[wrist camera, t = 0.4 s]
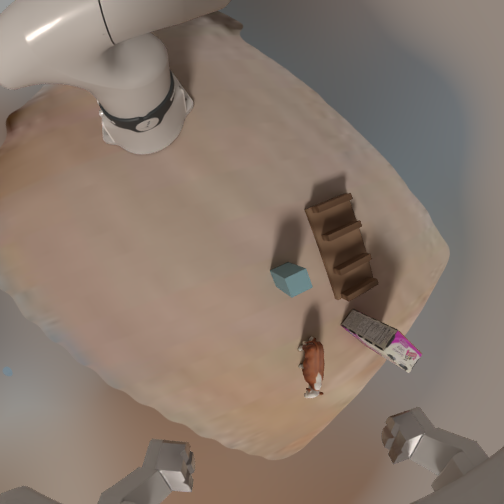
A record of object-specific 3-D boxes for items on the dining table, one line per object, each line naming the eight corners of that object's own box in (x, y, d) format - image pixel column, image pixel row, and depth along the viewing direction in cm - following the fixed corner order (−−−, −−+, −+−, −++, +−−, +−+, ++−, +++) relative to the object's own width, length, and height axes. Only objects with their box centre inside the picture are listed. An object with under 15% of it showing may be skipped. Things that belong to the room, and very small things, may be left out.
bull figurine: (292, 385, 56) (305, 404, 48) (297, 332, 55) (313, 347, 47) (310, 383, 57) (325, 401, 49) (316, 330, 56) (334, 344, 48)
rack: (304, 209, 53) (313, 208, 49) (344, 193, 55) (354, 191, 51) (335, 298, 56) (345, 303, 52) (370, 278, 58) (381, 281, 54)
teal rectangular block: (269, 270, 53) (284, 278, 44) (288, 262, 54) (305, 268, 45) (276, 286, 54) (291, 297, 45) (294, 278, 54) (312, 287, 45)
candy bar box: (378, 330, 60) (423, 354, 44) (366, 346, 60) (409, 374, 44) (352, 306, 58) (399, 329, 42) (339, 324, 57) (382, 352, 41)
